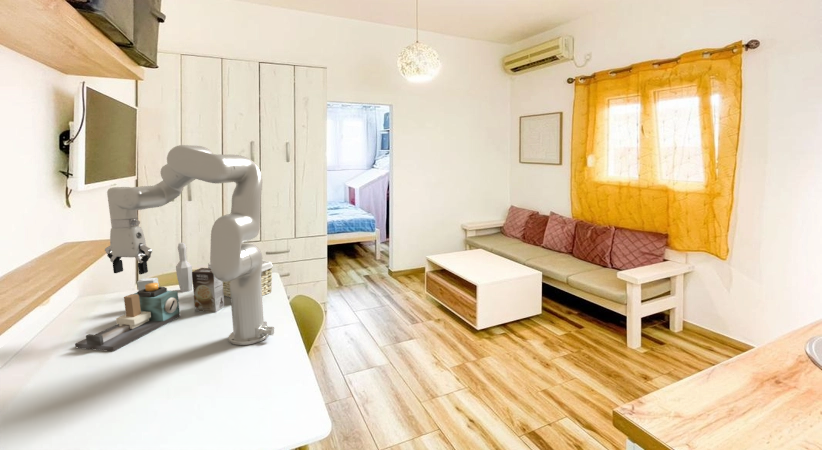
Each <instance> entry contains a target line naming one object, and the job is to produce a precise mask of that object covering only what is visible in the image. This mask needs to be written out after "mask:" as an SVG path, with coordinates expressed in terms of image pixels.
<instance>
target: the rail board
mask: <svg viewBox="0 0 822 450" xmlns="http://www.w3.org/2000/svg"><path fill="white" fill-rule="evenodd" d="M158 288H159V289H158V290H155V291H146V290H145V289H143V290H140V291H136V292H135V293H133V294H137V295H139V300H140V309H141V311H144V312H151V318H149V321H148V322H146V323H144V324H142V325H140V326H138V327H136V328H134V329H130V325H122V326H120V325H119V324H117V323H116V324H115V325H113V326H111V327H109V328H106V329H104V330H101V331H100V332H97V333H95V334H93V333H92V334H87V335H85V338H84V339H82V340H80V341H77V342H76V343H74V345H75V346H74V347H75V348H76V347H78V348H77V349H82V348H86V349H85V350H93V349H96V350H95V351H104V350H107V352H116V351H117V350H119V349H122V348H123V347H124V346H127V345H129V344H131V343H133V342H135V341H136V340H138V339H140V338H142V337H144V336H146V335H148V334H150V333H151V332H153V331H156V330H157V329H159V328H162V327H163V326H165V325H167V324H169V323H171V322H172V321H173V322H174V321H175V320H177V319H178V318H180V317H181V312H180V302H179V294H178V293H179V291H178V290H177V291H176V290H168V288H167V287H165V286H159V287H158Z"/></svg>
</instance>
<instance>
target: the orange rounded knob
mask: <svg viewBox="0 0 822 450" xmlns="http://www.w3.org/2000/svg"><path fill="white" fill-rule="evenodd" d="M158 283H159V282H158ZM158 283H149V284H146V285H145V290H146V291H155V290H158V289H159V288H158Z"/></svg>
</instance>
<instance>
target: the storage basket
mask: <svg viewBox="0 0 822 450" xmlns="http://www.w3.org/2000/svg"><path fill="white" fill-rule="evenodd" d="M207 264H208V265H207V268H211V266H210V262H208V263H207ZM273 267H274V265H273V263H272V261H269V260H266V259H263V262H262V272H261V287H262V297H264V296H265V295H268V294H271V293H272V288H273V287H272V286H273V281H272V280H273V271H272V270H273ZM230 282H231V281H227V282H225V281H223V294H224V297H228V298H231V296H230ZM263 295H264V296H263Z"/></svg>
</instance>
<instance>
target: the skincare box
mask: <svg viewBox="0 0 822 450" xmlns="http://www.w3.org/2000/svg"><path fill="white" fill-rule="evenodd" d="M149 283H158V287H160V286H159V285H160V283H159V278H158V277H146V278H140V279H139V280H137V282H136V284H137V290H138V291H140V290H143V289H145V285H146V284H149ZM138 291H137V292H138Z"/></svg>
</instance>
